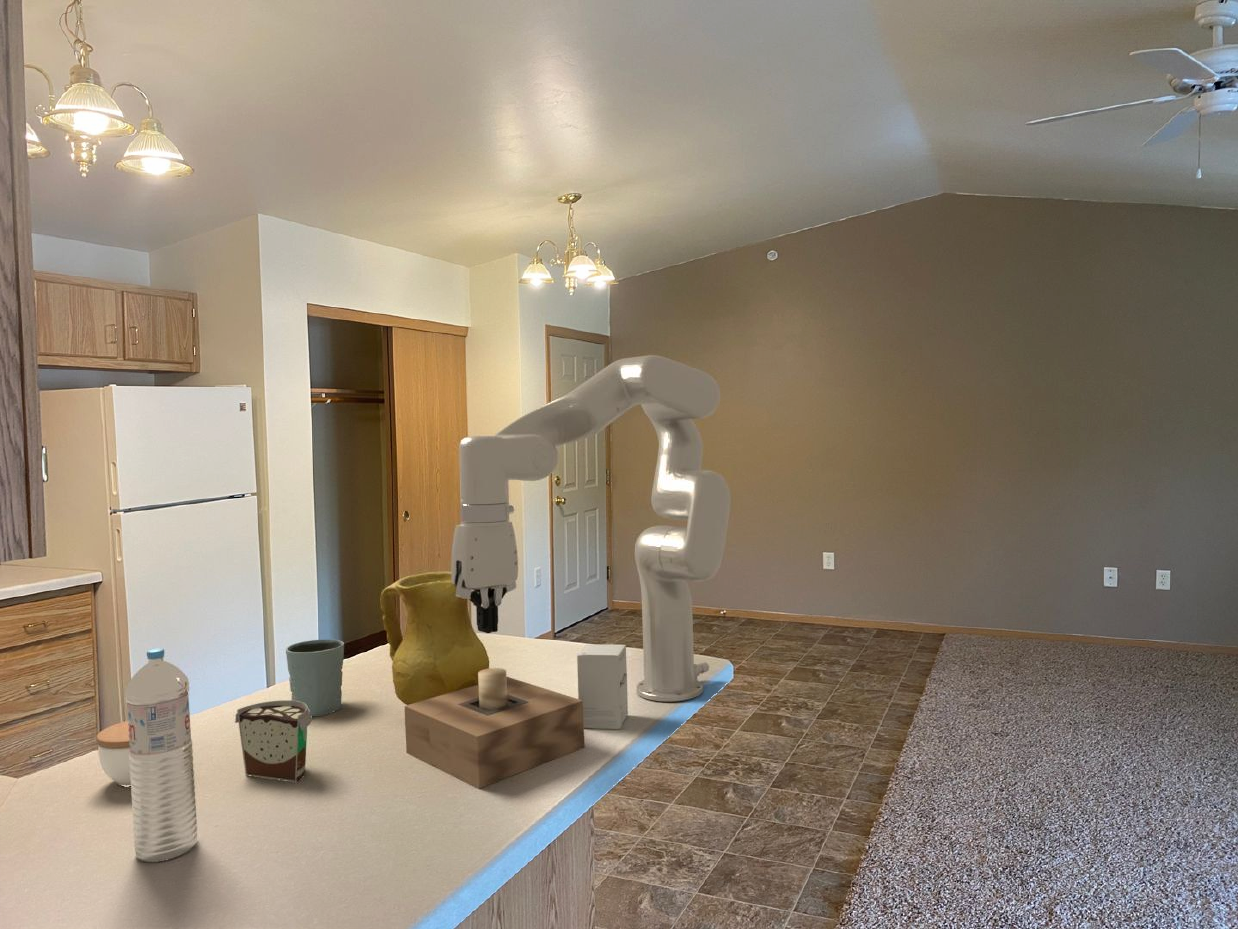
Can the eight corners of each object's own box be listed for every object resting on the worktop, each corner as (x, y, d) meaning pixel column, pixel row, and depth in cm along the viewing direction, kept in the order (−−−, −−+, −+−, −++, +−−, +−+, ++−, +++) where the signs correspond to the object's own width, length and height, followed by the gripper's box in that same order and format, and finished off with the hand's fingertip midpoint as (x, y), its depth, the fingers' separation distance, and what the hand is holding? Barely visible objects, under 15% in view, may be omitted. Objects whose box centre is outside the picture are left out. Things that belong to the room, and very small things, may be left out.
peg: (497, 709, 133) (495, 666, 133) (513, 715, 130) (511, 671, 129) (474, 716, 130) (472, 672, 130) (490, 722, 127) (488, 678, 126)
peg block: (508, 718, 144) (506, 676, 144) (584, 747, 130) (582, 700, 130) (406, 752, 130) (404, 705, 130) (479, 789, 116) (477, 736, 116)
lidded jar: (99, 801, 116) (95, 736, 116) (99, 775, 125) (96, 715, 125) (184, 782, 122) (180, 719, 121) (179, 759, 131) (175, 701, 131)
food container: (332, 767, 126) (329, 702, 125) (304, 783, 120) (301, 716, 119) (267, 759, 130) (264, 696, 129) (237, 774, 124) (234, 709, 123)
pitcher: (423, 739, 136) (416, 589, 135) (374, 712, 150) (367, 576, 149) (510, 713, 147) (504, 574, 146) (457, 690, 161) (451, 564, 160)
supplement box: (621, 730, 137) (618, 655, 136) (578, 728, 138) (575, 654, 138) (629, 715, 144) (627, 643, 143) (588, 713, 145) (585, 643, 145)
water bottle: (151, 838, 105) (140, 644, 104) (207, 834, 105) (196, 641, 104) (123, 866, 98) (111, 659, 97) (183, 862, 98) (171, 656, 97)
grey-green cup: (276, 715, 150) (273, 650, 150) (316, 697, 160) (313, 636, 159) (320, 720, 146) (317, 654, 146) (358, 702, 156) (355, 640, 155)
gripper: (509, 510, 136) (511, 620, 137) (430, 517, 126) (433, 636, 126) (537, 512, 131) (539, 626, 131) (457, 520, 120) (460, 644, 121)
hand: (487, 631), depth 129 cm, fingers closed
